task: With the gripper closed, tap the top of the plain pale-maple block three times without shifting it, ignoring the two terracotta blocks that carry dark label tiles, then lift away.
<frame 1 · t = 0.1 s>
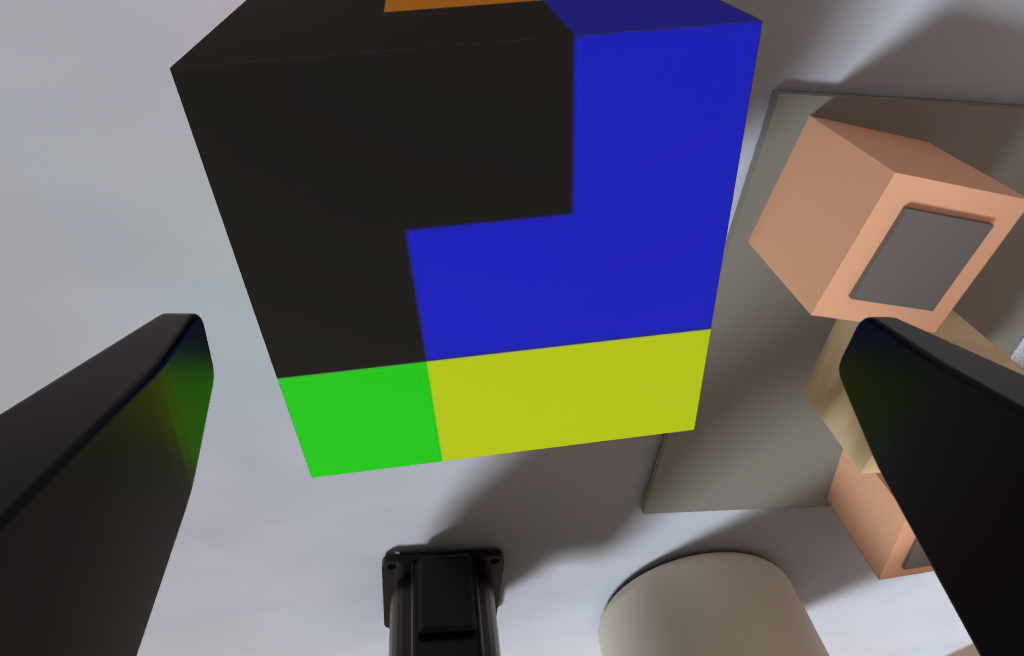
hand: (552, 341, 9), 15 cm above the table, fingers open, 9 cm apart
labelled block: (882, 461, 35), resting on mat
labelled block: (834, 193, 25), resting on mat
puzzle toy: (464, 129, 22), on the table
cylinder vase: (689, 602, 42), on the table
plain block: (872, 350, 30), resting on mat
mat: (857, 344, 30), on the table
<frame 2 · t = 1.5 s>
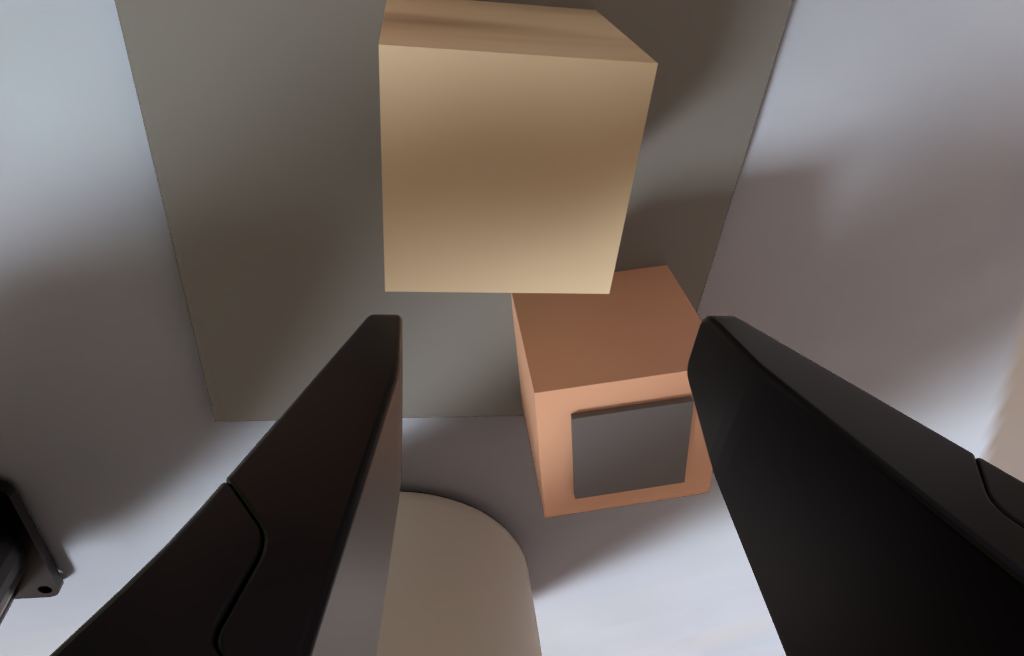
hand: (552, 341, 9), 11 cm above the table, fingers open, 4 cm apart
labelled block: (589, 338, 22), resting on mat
cylinder vase: (387, 571, 29), on the table
plain block: (487, 107, 17), resting on mat
mat: (466, 101, 17), on the table
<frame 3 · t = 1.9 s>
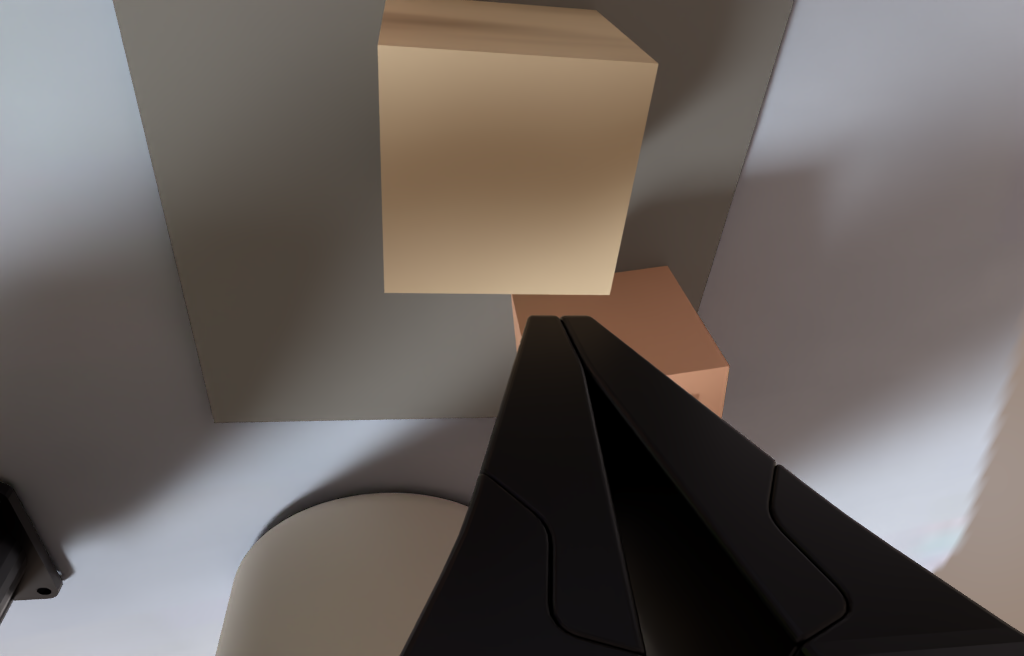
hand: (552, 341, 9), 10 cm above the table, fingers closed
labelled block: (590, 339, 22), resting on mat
cylinder vase: (386, 572, 29), on the table
plain block: (486, 108, 17), resting on mat
mat: (466, 102, 17), on the table
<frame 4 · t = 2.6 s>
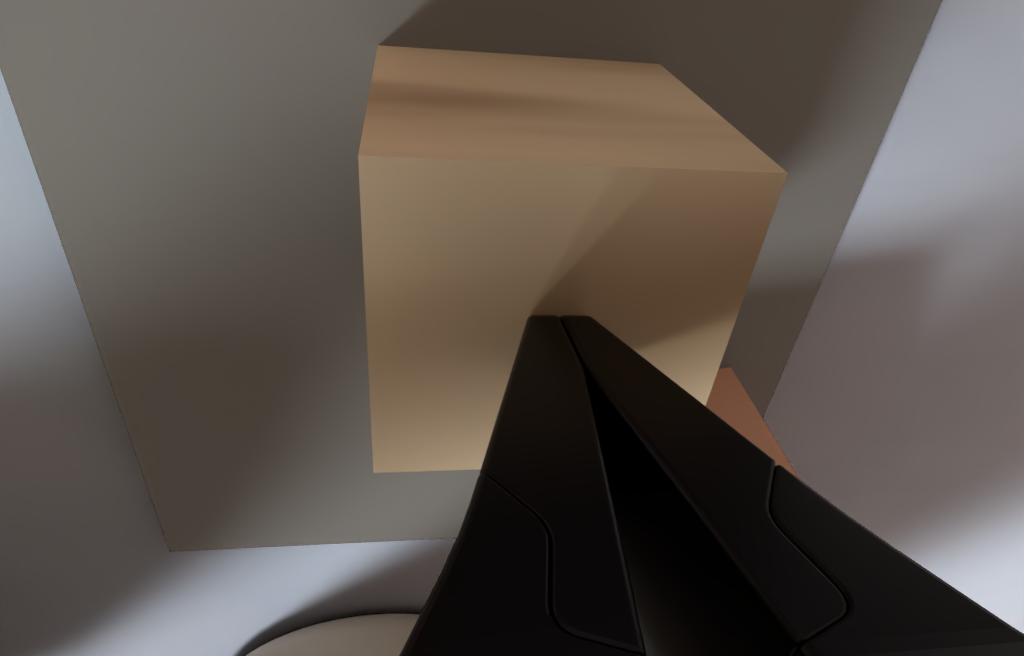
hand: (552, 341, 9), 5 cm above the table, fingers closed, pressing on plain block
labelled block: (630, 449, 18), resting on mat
plain block: (510, 188, 13), resting on mat, touching gripper
mat: (483, 179, 13), on the table
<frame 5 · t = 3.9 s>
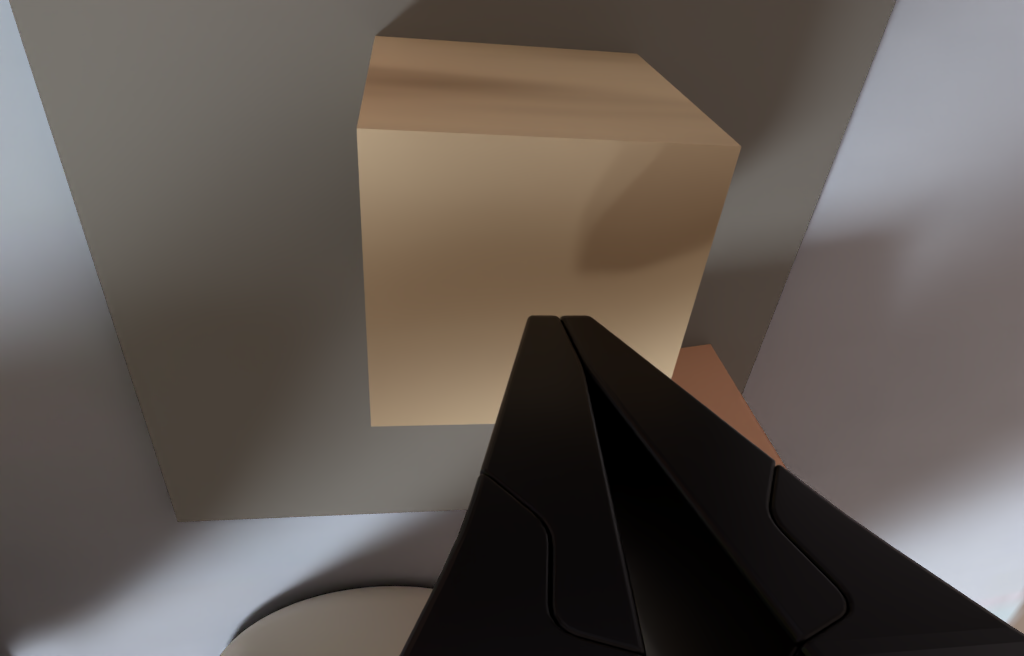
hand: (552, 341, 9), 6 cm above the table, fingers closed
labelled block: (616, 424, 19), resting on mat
plain block: (499, 170, 14), resting on mat
mat: (474, 162, 14), on the table
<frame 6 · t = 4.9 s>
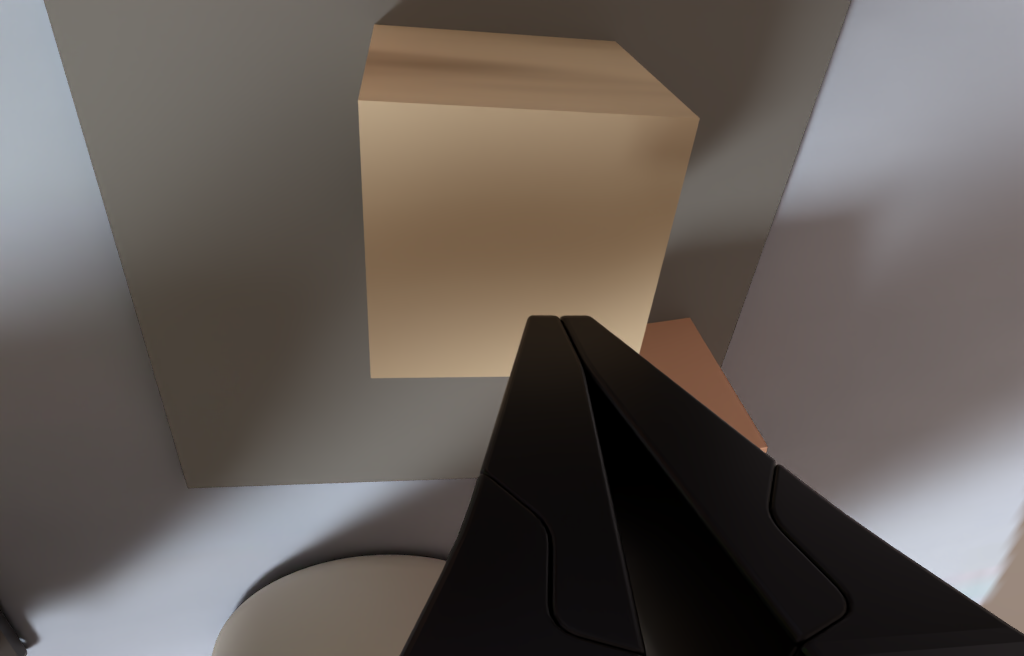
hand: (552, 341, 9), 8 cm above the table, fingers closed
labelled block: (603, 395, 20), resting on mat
cylinder vase: (380, 632, 27), on the table
plain block: (489, 150, 15), resting on mat
mat: (466, 143, 15), on the table
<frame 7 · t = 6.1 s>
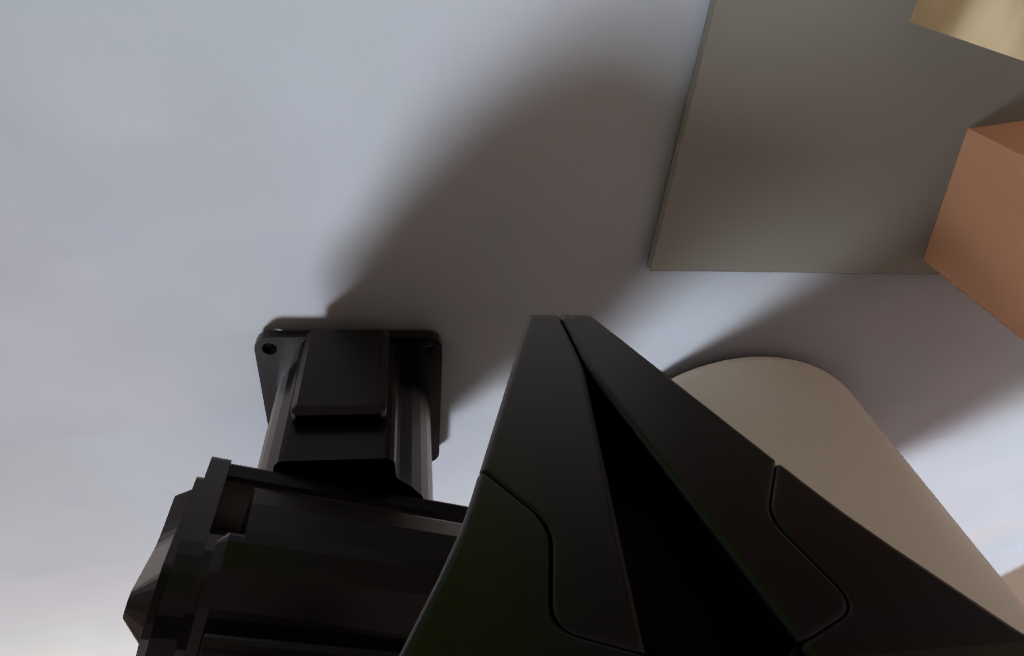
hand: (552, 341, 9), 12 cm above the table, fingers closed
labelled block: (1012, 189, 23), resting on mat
cylinder vase: (714, 451, 30), on the table
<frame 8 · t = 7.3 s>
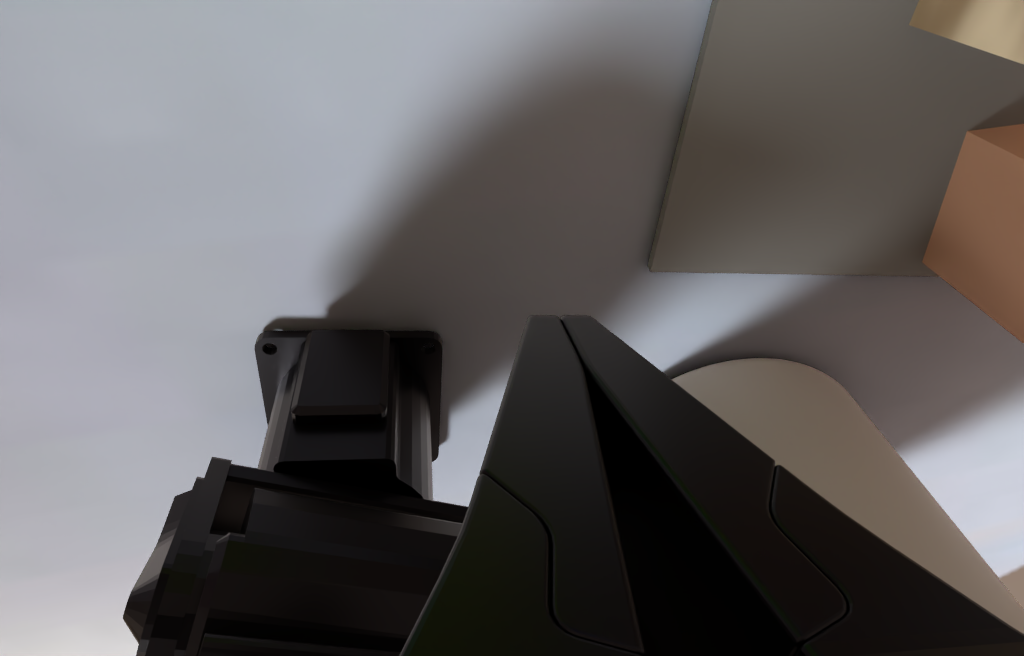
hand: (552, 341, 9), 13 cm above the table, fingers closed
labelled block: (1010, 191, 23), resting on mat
cylinder vase: (713, 452, 30), on the table
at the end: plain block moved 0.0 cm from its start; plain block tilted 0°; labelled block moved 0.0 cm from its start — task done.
